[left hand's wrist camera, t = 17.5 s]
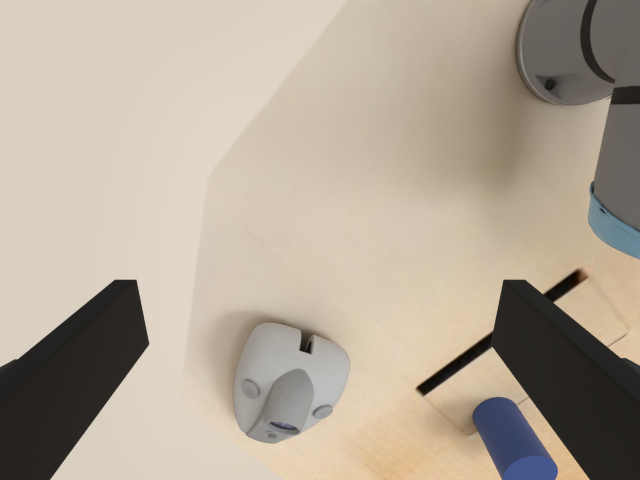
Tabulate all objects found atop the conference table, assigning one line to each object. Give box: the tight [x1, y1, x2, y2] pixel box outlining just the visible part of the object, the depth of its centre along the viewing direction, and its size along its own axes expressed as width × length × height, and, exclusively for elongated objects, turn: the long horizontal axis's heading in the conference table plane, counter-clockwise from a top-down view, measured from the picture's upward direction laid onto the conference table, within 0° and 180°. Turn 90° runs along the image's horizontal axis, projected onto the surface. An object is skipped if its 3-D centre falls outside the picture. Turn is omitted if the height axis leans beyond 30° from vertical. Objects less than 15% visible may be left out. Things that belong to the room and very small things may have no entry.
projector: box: [233, 322, 350, 444], centre depth 52 cm, size 22×23×15 cm
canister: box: [473, 397, 558, 480], centre depth 57 cm, size 8×8×11 cm
